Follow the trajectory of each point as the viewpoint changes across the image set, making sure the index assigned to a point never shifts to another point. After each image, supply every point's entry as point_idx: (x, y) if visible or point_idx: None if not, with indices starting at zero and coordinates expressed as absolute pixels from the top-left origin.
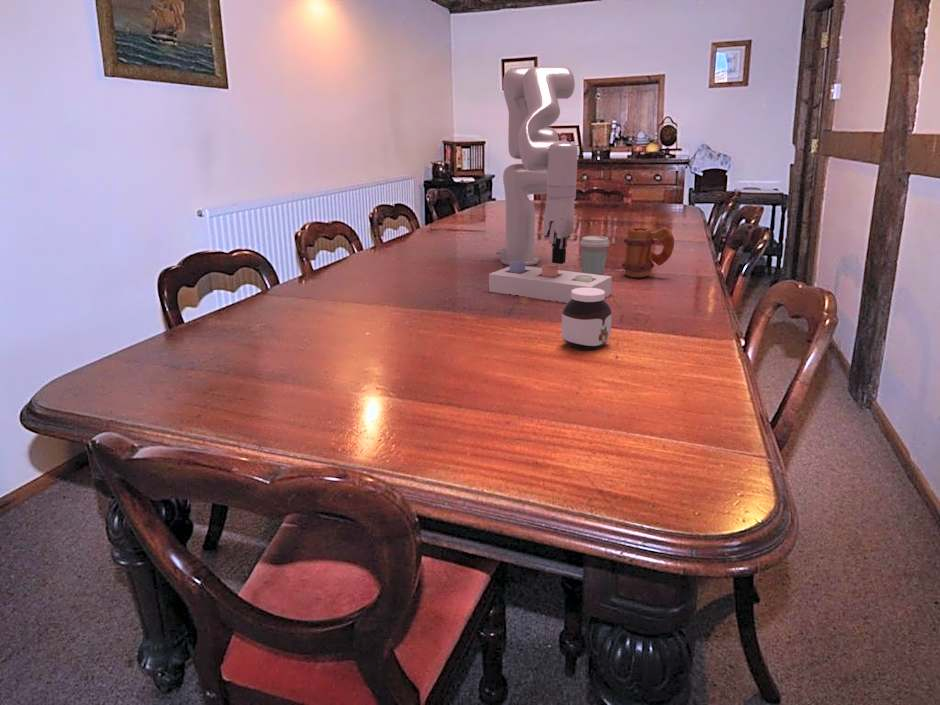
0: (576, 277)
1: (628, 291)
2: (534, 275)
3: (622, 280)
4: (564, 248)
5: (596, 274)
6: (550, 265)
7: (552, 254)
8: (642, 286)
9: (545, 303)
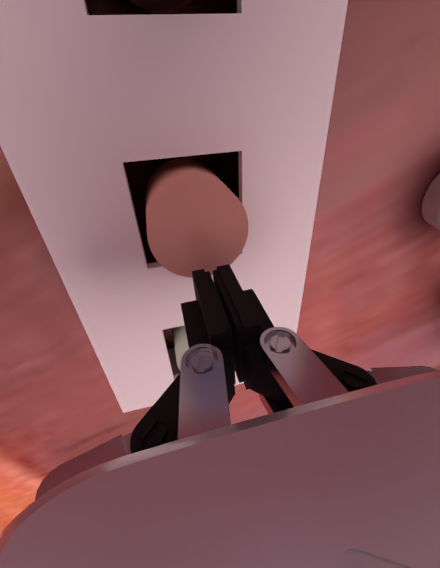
0: (181, 349)
1: (317, 338)
2: (125, 145)
3: (427, 273)
4: (246, 385)
5: (437, 226)
6: (215, 228)
7: (201, 301)
8: (373, 333)
9: (39, 265)
